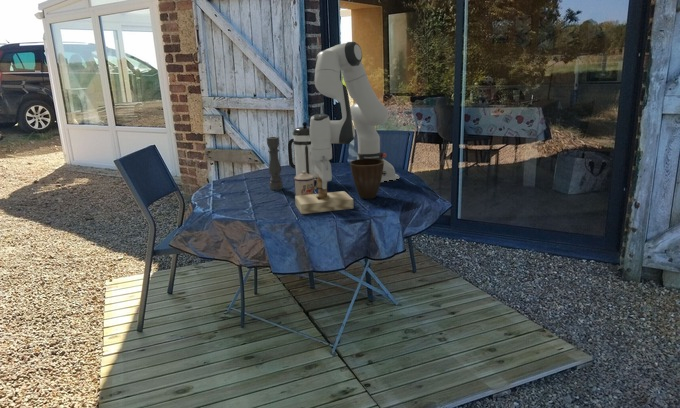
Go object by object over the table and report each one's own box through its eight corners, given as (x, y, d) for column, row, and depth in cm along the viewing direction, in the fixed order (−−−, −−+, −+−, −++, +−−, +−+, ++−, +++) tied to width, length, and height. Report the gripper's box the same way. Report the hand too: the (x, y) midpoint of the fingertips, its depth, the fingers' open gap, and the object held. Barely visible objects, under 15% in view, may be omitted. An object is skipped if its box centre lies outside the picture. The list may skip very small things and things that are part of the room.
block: (344, 199, 216) (344, 191, 215) (353, 208, 203) (353, 199, 202) (295, 204, 211) (294, 195, 210) (301, 214, 198) (300, 204, 196)
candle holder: (280, 190, 236) (276, 138, 229) (268, 189, 237) (264, 138, 230) (284, 186, 242) (280, 136, 235) (272, 186, 243) (268, 136, 236)
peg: (326, 195, 208) (325, 172, 205) (328, 197, 204) (327, 174, 201) (317, 195, 207) (316, 172, 204) (319, 198, 203) (318, 174, 200)
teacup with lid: (301, 200, 218) (300, 174, 214) (291, 196, 225) (290, 171, 222) (324, 195, 224) (323, 170, 221) (313, 191, 232) (312, 167, 228)
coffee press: (322, 175, 263) (319, 119, 255) (321, 182, 248) (319, 123, 240) (289, 176, 263) (286, 120, 255) (287, 183, 248) (283, 124, 239)
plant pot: (362, 203, 210) (361, 166, 205) (345, 195, 222) (343, 161, 218) (390, 197, 216) (390, 162, 212) (372, 190, 229) (372, 157, 224)
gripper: (335, 158, 192) (336, 192, 195) (323, 150, 211) (324, 181, 214) (319, 159, 190) (320, 194, 194) (309, 151, 209) (310, 182, 213)
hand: (322, 187), depth 204 cm, fingers closed on peg, 4 cm apart
